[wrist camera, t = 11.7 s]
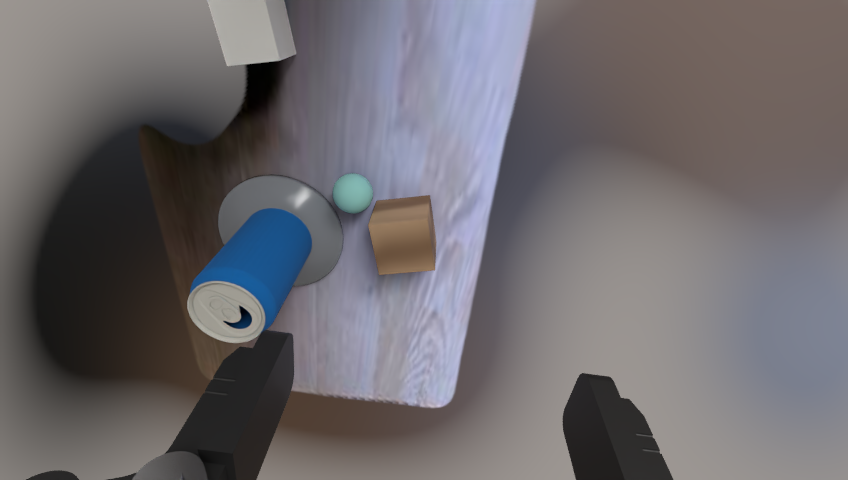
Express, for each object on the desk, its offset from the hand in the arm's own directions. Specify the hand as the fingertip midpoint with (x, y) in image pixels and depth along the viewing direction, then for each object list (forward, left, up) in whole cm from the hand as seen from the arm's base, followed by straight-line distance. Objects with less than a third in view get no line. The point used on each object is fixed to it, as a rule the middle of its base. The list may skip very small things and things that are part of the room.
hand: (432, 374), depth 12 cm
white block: (-6, -15, -28) cm, 32 cm away
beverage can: (+13, -14, -28) cm, 34 cm away
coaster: (+13, -14, -28) cm, 34 cm away
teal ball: (+7, -7, -26) cm, 28 cm away
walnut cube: (+10, -2, -28) cm, 30 cm away
